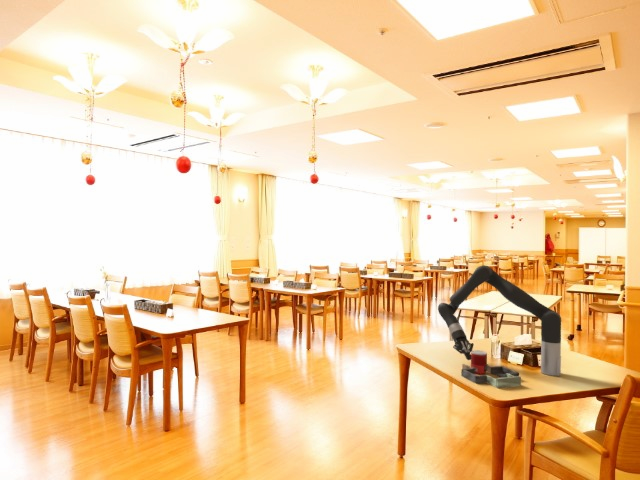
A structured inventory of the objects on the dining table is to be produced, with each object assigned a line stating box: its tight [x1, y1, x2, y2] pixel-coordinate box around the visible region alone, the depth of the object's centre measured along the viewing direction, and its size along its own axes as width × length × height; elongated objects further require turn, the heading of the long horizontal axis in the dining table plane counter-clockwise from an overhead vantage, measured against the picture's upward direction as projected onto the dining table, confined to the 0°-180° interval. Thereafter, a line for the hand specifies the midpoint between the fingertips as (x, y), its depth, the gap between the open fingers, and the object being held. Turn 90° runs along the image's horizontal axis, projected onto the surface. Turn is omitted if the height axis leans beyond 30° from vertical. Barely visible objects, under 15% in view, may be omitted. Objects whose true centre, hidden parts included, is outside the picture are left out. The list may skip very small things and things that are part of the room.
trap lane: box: [460, 363, 522, 389], centre depth 218 cm, size 28×25×4 cm
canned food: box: [470, 349, 488, 376], centre depth 227 cm, size 8×8×11 cm
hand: (469, 359), depth 234 cm, fingers closed
